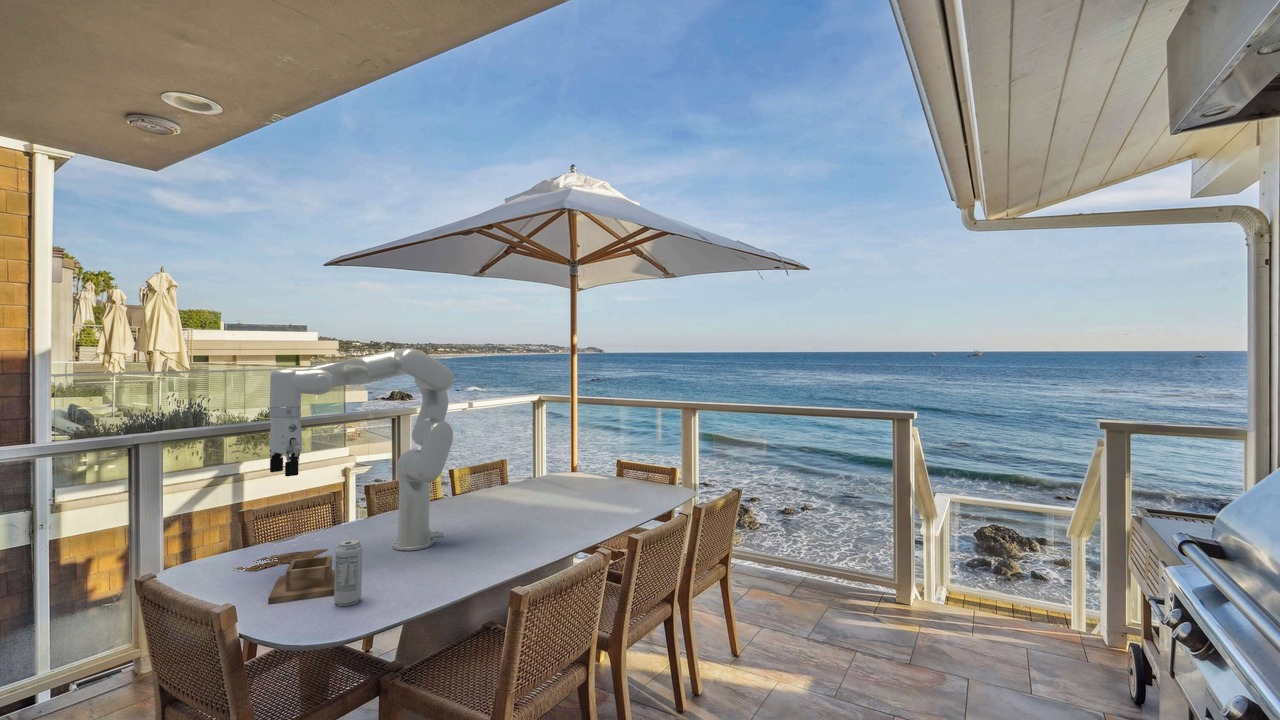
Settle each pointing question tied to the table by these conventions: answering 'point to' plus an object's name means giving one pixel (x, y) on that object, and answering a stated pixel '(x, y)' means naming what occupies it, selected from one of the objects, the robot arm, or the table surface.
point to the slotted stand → (305, 580)
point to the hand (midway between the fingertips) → (283, 473)
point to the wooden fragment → (283, 559)
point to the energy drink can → (348, 572)
